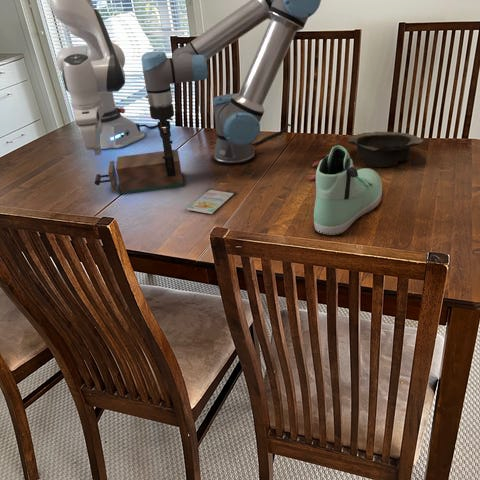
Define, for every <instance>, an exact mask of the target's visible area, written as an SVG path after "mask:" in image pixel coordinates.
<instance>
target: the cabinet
mask: <svg viewBox="0 0 480 480" xmlns="http://www.w3.org/2000/svg"><path fill="white" fill-rule="evenodd" d="M166 155H168V154H166ZM172 155H173V160H174V167H175V173H176V176H171V177H168V176H167V170H166V163H165V159H163V157H164V156H165V155H164V150H162V151H154V152H146V153H145V152H144V153H137V154H130V155H122V156H117V158H116V164H115V165H116V166H115V170H116V174H117V179H118V184H119V185H118V186H119V189H120V193H121V195H126V194H127V195H128V194H136V193H141V192H148V191H149V192H150V191H158V190H164V189H165V190H166V189H170V188H171V189H172V188H178V187H184V181H183V175H182V174H183V173H182V167H181V160H180V154H179V150H178V149H177V148H176V149H172Z"/></svg>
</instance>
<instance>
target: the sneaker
mask: <svg viewBox="0 0 480 480" xmlns="http://www.w3.org/2000/svg"><path fill="white" fill-rule="evenodd" d="M319 161H320V163H319V165H317V168H316V172H315V173H316V178H315V201H314V207H313V225H314V229H315V231H316V232H318V233H320V234H323V235H326V236H327V235H328V236H336V235H339V234H342V233H344V232H345V231H347V230H348V229H349V228H350V227H351V226H352V225H353V224H354V222H356V221H357V220H358V219H359V218H360V217H362V216H363V215H365V214H367V213H370V212H372V210H374V209H375V208H377V207H378V205H380V203H381V200H382V196H383V184H382V183H383V182H382V179H381V176H380V175H379V173H378V172H377V171H376V170H374V169H372V168H367V167H365V168H358V169H357V168H355V167H354V161H353V159H352V158H351V156H350V153H349V152H348V150H347V148H345V147H344V146H342V145H334V146H333V147H331V149H330V151H329V154H327V155H326V156H325V157H324V158H322V159H321V160H319ZM343 230H344V231H343ZM319 231H320V232H319ZM322 232H323V233H322ZM339 232H340V233H339ZM326 233H327V234H326ZM328 233H329V234H328ZM335 233H337V234H335Z"/></svg>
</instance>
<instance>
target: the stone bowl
mask: <svg viewBox="0 0 480 480" xmlns="http://www.w3.org/2000/svg"><path fill="white" fill-rule="evenodd" d="M424 142H425V141H424V139H422V138H420V137H418V136H417V135H414V134H411V133H407V132H397V131H373V132H362V133H358V134H353V135H351V136H349V137H348V141H347V143H348V144H351V145H353V146H356V150H357V151H356V152H357V154H358V155H360V157H361V159H363V160H364V161H366V164H367V166H368V167H372V168H375V167H376V168H385V167H394V166H396V165H397V164H398V162H406V161H408V160H409V158H410V151H411V148H413V147H416V146H419V145H420V144H422V143H424Z"/></svg>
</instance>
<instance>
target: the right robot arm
mask: <svg viewBox="0 0 480 480" xmlns="http://www.w3.org/2000/svg"><path fill="white" fill-rule="evenodd" d="M321 2H322V0H249V1H247V2H246V3H245V4H243V5H242V6H240V7H239V8H237V9H236V10H234V11H233V12H232V13H230V14H229V15H227V16H225V17H224V18H223V19H221V20H220V21H218V22H217V23H216V24H214V25H212V27H210V28H209V29H207V30H205V31H204V32H203V33H201V34H200V35H198V36H197V37H195V38H194V39H192V41H190V42H188V43H186V44H185V45H184V46H181V47H177V48H176V49H175V50H174V51H173V53H172V55H171V57H167V54H166V52H164V51H161V50H160V51H159V50H157V51H156V50H155V51H149V52H145V53H143V55H142V56H141V66H142V74H143V80H144V85H145V90H146V95H145V99H147V102H148V105H149V107H148V108H149V115H150V118H151V119H152V120H155V121H157V120H158V121H157V122H156V123H157V125H158V127H157V129H158V131H159V137H160V138H161V140H162V148H163V151H164V155H165V156H164V157H163V159H165V163H166V170H167V176H168V177H171V176H176V173H175V167H174V160H173V155H172V150H173V148H172V144H174V142H173V140H171V137H172V134H171V132H172V131H171V122H170V121H171V120H167V119H168V118H173V117H174V116H175V111H174V110H175V109H174V104H173V95H172V94H173V93H172V88H171V85H173V84H174V85H175V84H181V83H182V84H183V83H191V82H192V83H193V82H199V81H203V80H204V81H205V80H207V79H208V77H209V72H208V71H209V70H208V63H207V61H208V60H210V59H211V58H213V57H214V56H215V55H216V54H218V53H220V52H221V51H223V50H224V49H225V48H227V47H229V46H230V45H232V44H233V43H234V42H236V41H237V40H239V39H240V38H242V37H243V36H245V35H246V34H248V33H249V32H250V31H252V30H253V29H255V28H256V27H258V26H259V25H260V24H262V23H264V22H265V21H266V20H270V21H269V22H268V25H267V27H266V30H265V32H264V34H263V36H262V39H261V41H260V43H259V46H258V47H257V50H256V53H255V55H254V57H253V59H252V61H251V64H250V66H249V69H248V70H247V73H246V75H245V77H244V80H243V82H242V84H241V87H240V89H239V91H238V93H227V94H222V95H217V96H215V97H214V98H213V105H212V106H213V107H212V108H213V111H214V121H215V132H216V141H215V146H214V150H213V159H214V161H215V162H216V163H218V164H221V165H228V166H233V165H240V164H246V163H248V162H250V161H252V160H253V159H254V158H255V157H256V155H255V149H254V148H255V147H254V146H256V145H259V144H261V143H263V142H264V141H266V140H268V139H270V138H272V137H275V136H277V135H280V134H282V133H283V132H285V131H286V130H287V129H288V127H291V126H292V125H291V124H290V123H287V124H286V125H285V127H284V128H283V129H281V130H280V131H277V132H275V133H273V134H270V135H267V136H266V137H264V138H262V139H260V140H259V141H258V140H257V139H258V137H259V135H260V132H261V124H260V123H261V120H262V118H263V116H264V113H265V109H264V103H265V100H266V98H267V96H268V94H269V91H270V89H271V88H272V85H273V83H274V81H275V79H276V76H277V75H278V73H279V70H280V68H281V65H282V63H283V61H284V59H285V57H286V55H287V53H288V50H289V48H290V46H291V44H292V42H293V40H294V38H295V35H296V34H297V32H299V31H302V30H303V29H304V28H305V26H306V23H307V21H308V19H309V18H310V17H312V16H313V15H315V13H316V12H317V11H318V9H319V8H320V5H321ZM256 140H257V141H256ZM255 141H256V142H255ZM166 154H168V155H166Z"/></svg>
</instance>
